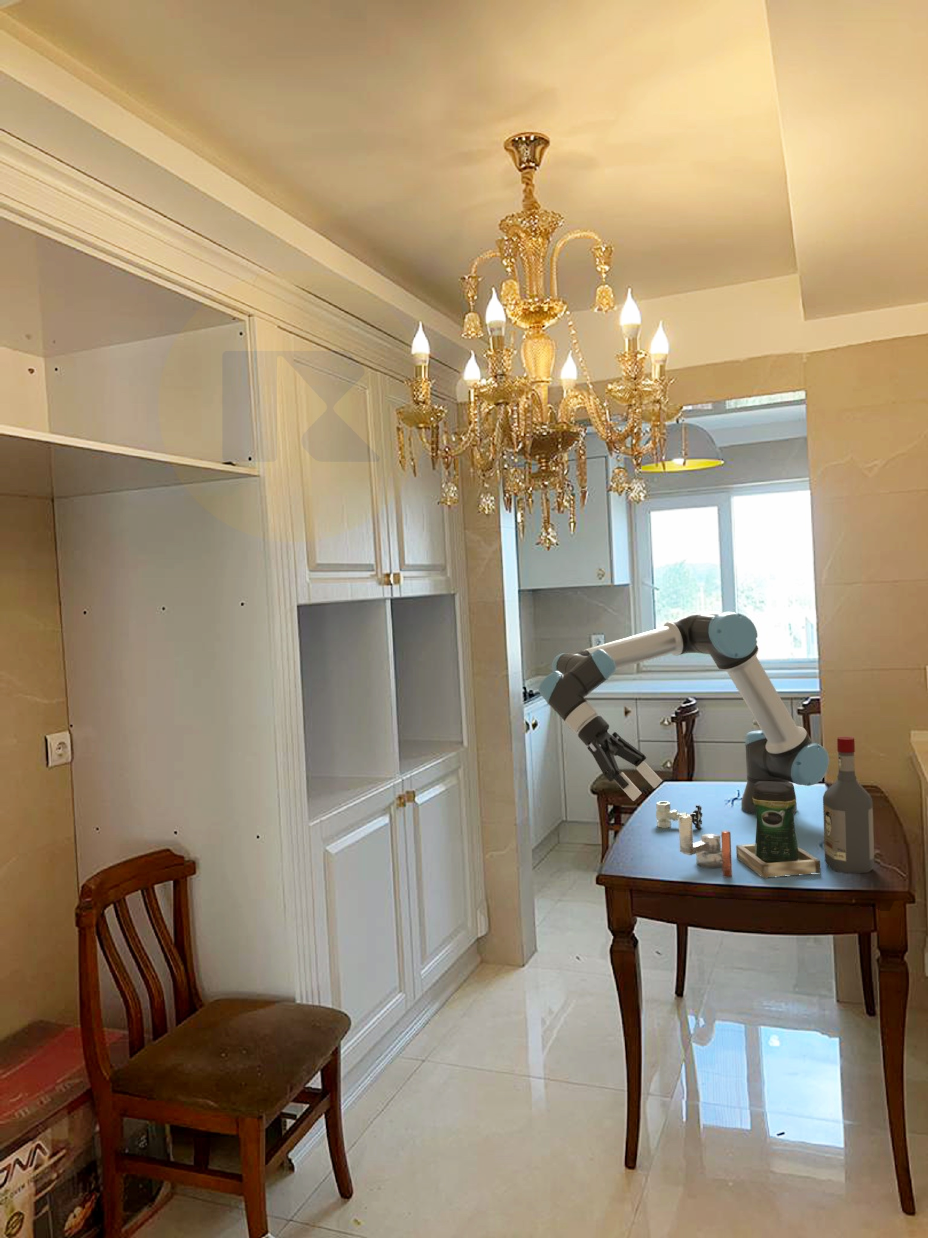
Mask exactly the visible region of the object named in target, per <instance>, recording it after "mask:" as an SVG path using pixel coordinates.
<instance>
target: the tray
mask: <svg viewBox="0 0 928 1238" xmlns="http://www.w3.org/2000/svg"><path fill="white" fill-rule="evenodd" d="M735 846H736V859H738V860H739V861H741V862H742V863H743V864H744V865H745V866H747V867H749V868H750V869H751V870H752V871H753V870H754V871H753V872H755V873H756V874H757V873H758V874H757V875H759V876H760V875H761V876H762V877H761V876H760V877H761V878H762V879H769V878H768V877H775V876H785V875H799V874H811V873H821V871H822V870H821V860H820V859H818V858H817V857H815V856H814V855H812V854H811V853H809V852H808V851H806V850H804V849H803V848H801V847H799V846H798V855H799V858H798V860H797V861H788V862H776V863H765V862H764V861H762V860H761V859H760V858H758V857H757V856H755V843H751V844H737V845H735ZM821 874H822V873H821ZM799 876H800V875H799ZM775 878H776V877H775Z"/></svg>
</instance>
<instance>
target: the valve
mask: <svg viewBox="0 0 928 1238" xmlns="http://www.w3.org/2000/svg"><path fill="white" fill-rule="evenodd" d="M655 805H656V811H655V817H656V825H657V827H658V828H659V827H662V828H661V829H668V827H669V828H671V827H672V822H671V820H672V821H673V822H678V821H679V816H684V815H686V816H691V817H692V825H694V828H695V829H696V830H701V828H702V825H703V820H702V817H703V812H702V808H703V807H702V806H701V805H700V804H695V809H694V811H692V812H690V813H689V814H688V813H687V812H681V813H680V812H679V811H678V810H676V809H672V810H671V803H670V802H669V801H658V802H656V804H655Z"/></svg>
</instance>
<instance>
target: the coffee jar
mask: <svg viewBox="0 0 928 1238" xmlns="http://www.w3.org/2000/svg"><path fill="white" fill-rule="evenodd" d="M794 786H795V785H794V784H793V782H789V783H786V782H771V781H758V782H757V783H756V784H755V785H754V790H753V791H754V792H753V803H754V805H755V808H756V814H755V816H756V817H755V819H756V821H755V823H756V825H755V826H756V827H755V841H754V842H755V843H754V844H755V856H757V857H758V858H760V859H761V860H762V861H764V862H765V863H776V862H788V861H797V860H798V858H799V855H798V847H799V846H798V840H797V834H796V827H795V826H796V825H795V817H794V815H795V813H794V806H795V804H796V803H797V794H796V791H795V787H794Z"/></svg>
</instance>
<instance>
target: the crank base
mask: <svg viewBox="0 0 928 1238" xmlns="http://www.w3.org/2000/svg"><path fill="white" fill-rule="evenodd" d="M731 837H732V836H731V831H728V830H723V831H721V836H720V838H721V850H720V851H717V852H707V851H702V852H699V853H696V854H695V857H696V865H697V866H699V867H701V868H706V869H720V868H722V876H723V877H724V876H725V877H726V878H731V877H733V869H732V867H733V866H732V865H733V863H732V843H731V842H732V840H731ZM725 877H724V878H725Z"/></svg>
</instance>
